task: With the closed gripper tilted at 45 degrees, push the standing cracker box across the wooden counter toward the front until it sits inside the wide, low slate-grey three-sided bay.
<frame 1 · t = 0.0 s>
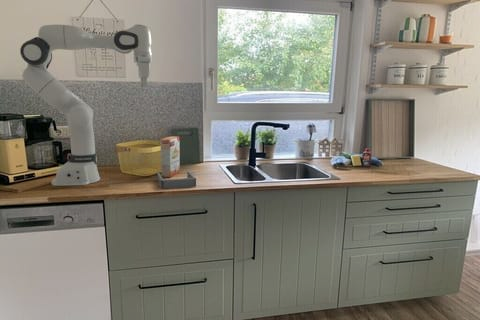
hand: (143, 87, 177), 48 cm above the worktop, tool pointing down, fingers open, 8 cm apart
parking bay: (176, 182, 177), on the worktop
cracker box: (170, 174, 193), on the worktop
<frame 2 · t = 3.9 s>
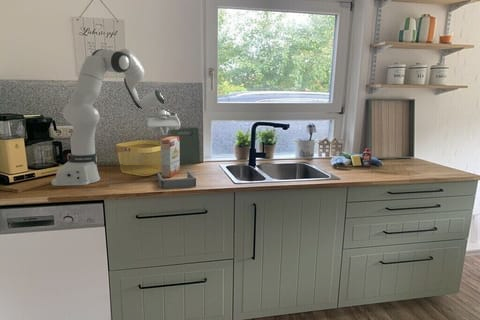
hand: (165, 134, 209), 20 cm above the worktop, tool tilted 45°, fingers closed
nothing on the worktop moved.
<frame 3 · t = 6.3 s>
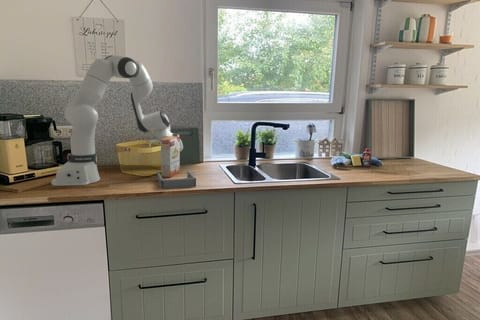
hand: (167, 156, 204), 7 cm above the worktop, tool tilted 45°, fingers closed
nothing on the worktop moved.
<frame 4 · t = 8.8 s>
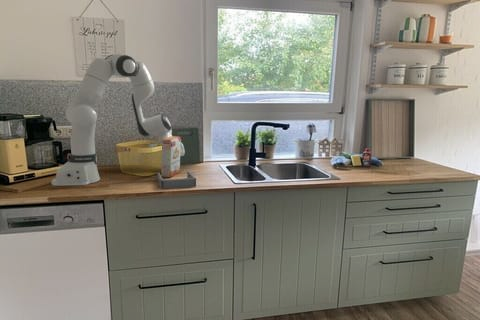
hand: (168, 161, 198), 6 cm above the worktop, tool tilted 45°, fingers closed
cracker box: (171, 174, 193), on the worktop, touching gripper
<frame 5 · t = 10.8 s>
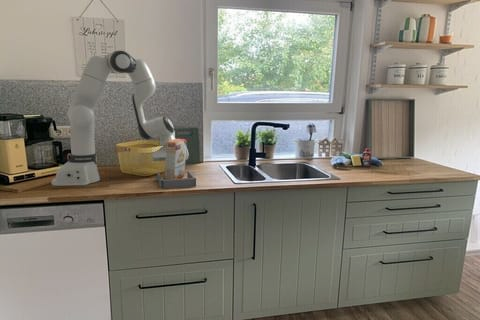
hand: (172, 166, 188), 6 cm above the worktop, tool tilted 45°, fingers closed
cracker box: (174, 179, 184), on the worktop, touching gripper
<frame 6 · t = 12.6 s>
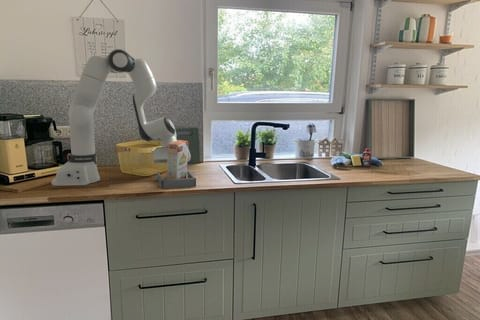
hand: (173, 168, 183), 6 cm above the worktop, tool tilted 45°, fingers closed
cracker box: (176, 181, 179), on the worktop, touching gripper
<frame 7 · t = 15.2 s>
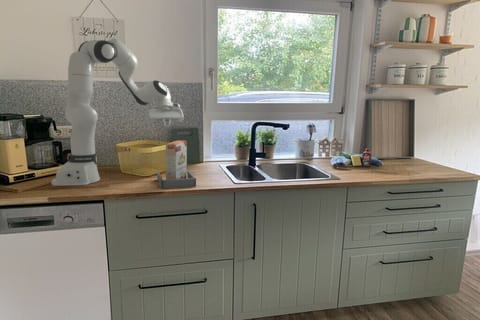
hand: (167, 126, 197), 26 cm above the worktop, tool tilted 45°, fingers closed
cracker box: (176, 181, 179), on the worktop
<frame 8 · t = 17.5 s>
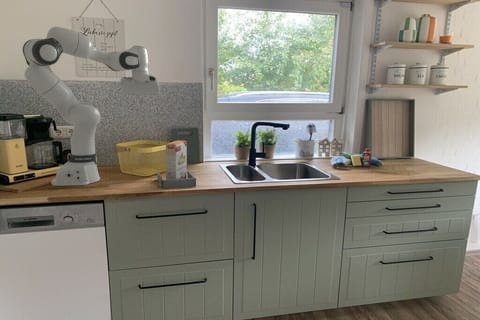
hand: (141, 103, 189), 39 cm above the worktop, tool pointing down, fingers closed
nothing on the worktop moved.
at the end: cracker box inside the target area on the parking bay (2.8 cm from its centre), point 0.0 cm above the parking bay's base; cracker box tilted 0°; cracker box moved 15.6 cm from its start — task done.
